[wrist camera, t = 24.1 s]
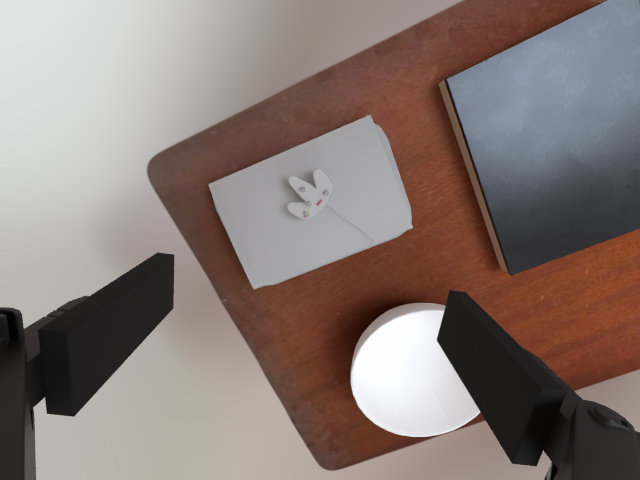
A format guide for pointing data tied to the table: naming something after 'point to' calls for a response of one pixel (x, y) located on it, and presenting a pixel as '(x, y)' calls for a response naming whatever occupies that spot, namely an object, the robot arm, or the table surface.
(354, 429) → the table surface
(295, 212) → the game controller
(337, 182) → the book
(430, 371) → the bowl
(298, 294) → the table surface
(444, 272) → the table surface
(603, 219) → the laptop screen
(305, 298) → the table surface
